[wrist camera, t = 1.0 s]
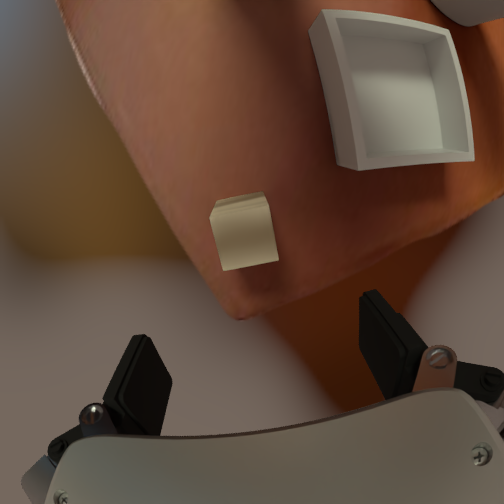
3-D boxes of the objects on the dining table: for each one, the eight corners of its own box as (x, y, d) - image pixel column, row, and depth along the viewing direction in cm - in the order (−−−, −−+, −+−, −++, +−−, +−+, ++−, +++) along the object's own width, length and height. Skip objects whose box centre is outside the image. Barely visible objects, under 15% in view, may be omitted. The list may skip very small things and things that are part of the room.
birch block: (216, 200, 29) (209, 217, 22) (262, 191, 29) (268, 205, 22) (227, 243, 31) (223, 271, 24) (271, 234, 31) (278, 260, 24)
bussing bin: (307, 31, 22) (322, 9, 16) (422, 40, 21) (448, 29, 15) (336, 164, 28) (358, 170, 22) (444, 155, 27) (474, 160, 21)
